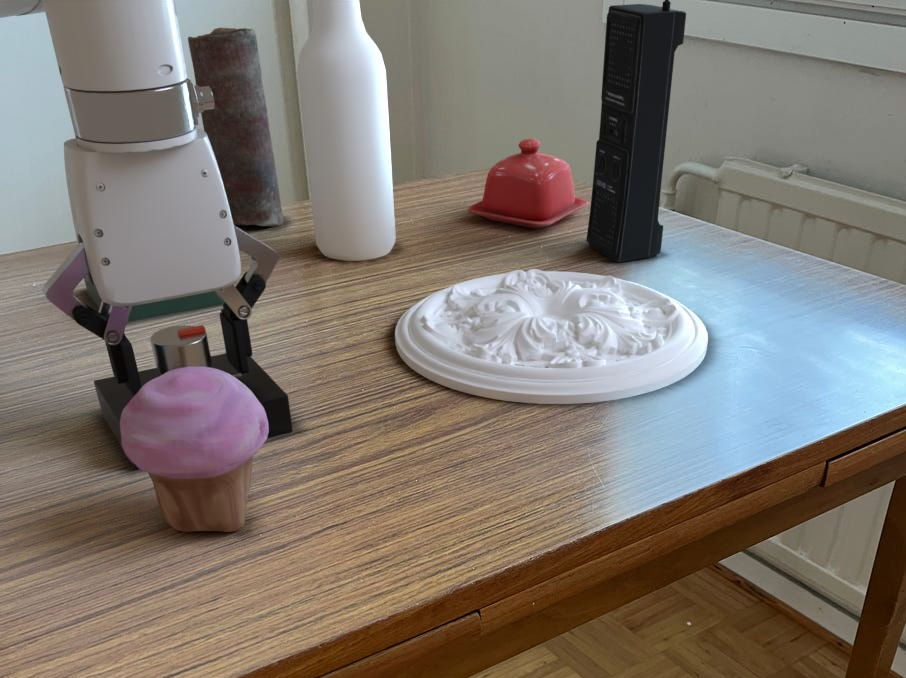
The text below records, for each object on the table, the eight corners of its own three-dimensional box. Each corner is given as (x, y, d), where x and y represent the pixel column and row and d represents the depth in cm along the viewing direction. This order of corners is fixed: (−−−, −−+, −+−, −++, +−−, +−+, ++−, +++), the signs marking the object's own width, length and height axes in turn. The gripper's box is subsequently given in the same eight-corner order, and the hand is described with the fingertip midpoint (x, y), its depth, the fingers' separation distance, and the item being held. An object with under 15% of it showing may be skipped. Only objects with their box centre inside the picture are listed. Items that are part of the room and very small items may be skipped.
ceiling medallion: (508, 266, 104) (508, 235, 102) (757, 321, 91) (763, 287, 89) (330, 352, 86) (326, 316, 84) (608, 436, 73) (611, 396, 71)
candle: (239, 238, 112) (207, 34, 99) (207, 224, 116) (173, 27, 104) (295, 225, 116) (271, 27, 103) (262, 212, 120) (236, 20, 108)
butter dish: (545, 236, 112) (548, 155, 106) (462, 221, 117) (460, 143, 111) (593, 212, 119) (597, 135, 114) (512, 198, 124) (513, 124, 119)
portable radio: (578, 243, 110) (593, -25, 94) (625, 236, 112) (647, -28, 96) (613, 264, 104) (635, -18, 88) (662, 256, 106) (691, -21, 90)
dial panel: (134, 470, 70) (124, 430, 68) (102, 416, 77) (92, 378, 75) (293, 432, 74) (287, 392, 72) (249, 384, 81) (243, 347, 79)
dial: (169, 402, 71) (157, 346, 69) (155, 382, 74) (142, 327, 72) (223, 391, 73) (212, 335, 70) (206, 371, 76) (196, 317, 73)
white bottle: (335, 267, 104) (301, -84, 85) (304, 245, 110) (266, -87, 91) (409, 254, 107) (392, -87, 88) (376, 233, 113) (353, -90, 94)
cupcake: (129, 554, 61) (88, 406, 55) (163, 484, 68) (130, 346, 62) (270, 553, 61) (245, 405, 55) (290, 484, 68) (270, 345, 62)
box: (110, 325, 91) (100, 282, 89) (87, 293, 98) (77, 252, 96) (234, 302, 96) (227, 260, 94) (204, 273, 103) (197, 233, 100)
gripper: (245, 91, 68) (279, 339, 79) (-22, 119, 61) (57, 384, 72) (283, 110, 63) (314, 372, 74) (-3, 142, 56) (78, 424, 67)
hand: (186, 376), depth 73 cm, fingers open, 7 cm apart
